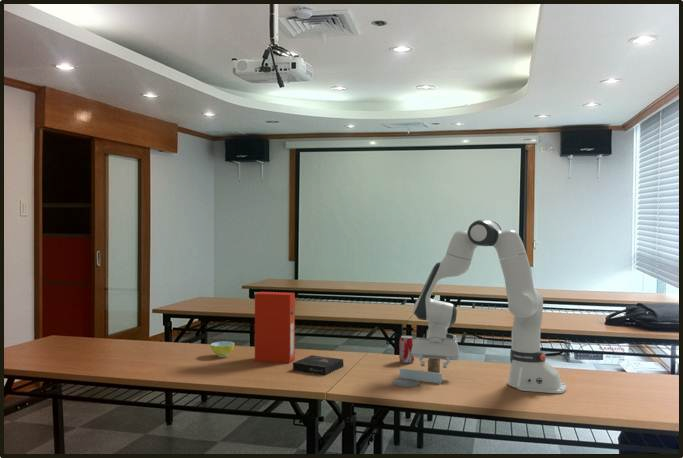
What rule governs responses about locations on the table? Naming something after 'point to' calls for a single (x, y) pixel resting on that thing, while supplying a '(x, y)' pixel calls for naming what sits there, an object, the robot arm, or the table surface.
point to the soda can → (406, 349)
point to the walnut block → (434, 365)
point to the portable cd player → (318, 365)
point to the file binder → (275, 327)
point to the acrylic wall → (421, 375)
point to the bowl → (222, 348)
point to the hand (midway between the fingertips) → (433, 366)
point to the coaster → (406, 382)
